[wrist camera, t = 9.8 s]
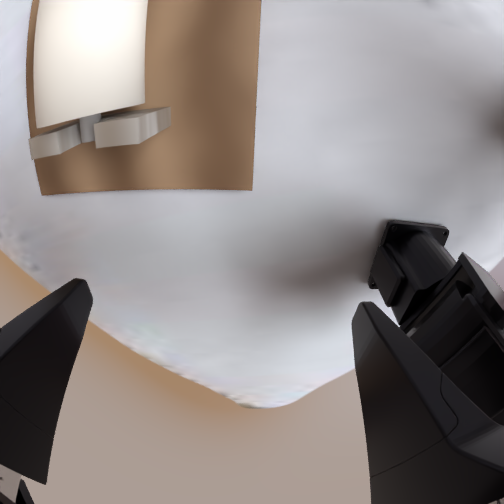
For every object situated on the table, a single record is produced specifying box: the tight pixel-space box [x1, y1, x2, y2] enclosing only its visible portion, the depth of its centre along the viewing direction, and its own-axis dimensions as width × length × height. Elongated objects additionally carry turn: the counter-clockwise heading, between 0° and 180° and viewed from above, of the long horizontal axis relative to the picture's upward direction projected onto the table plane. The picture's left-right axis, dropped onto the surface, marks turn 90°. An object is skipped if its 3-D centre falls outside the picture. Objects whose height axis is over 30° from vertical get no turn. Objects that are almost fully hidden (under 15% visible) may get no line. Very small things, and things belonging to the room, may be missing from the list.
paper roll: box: [33, 0, 148, 143], centre depth 9 cm, size 6×11×6 cm, turn 178°
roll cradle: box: [26, 0, 261, 196], centre depth 10 cm, size 17×20×6 cm
